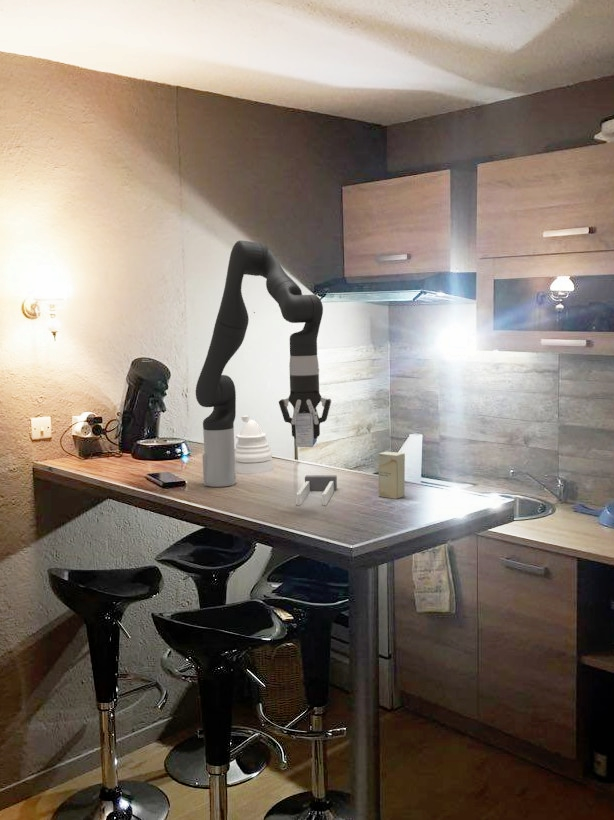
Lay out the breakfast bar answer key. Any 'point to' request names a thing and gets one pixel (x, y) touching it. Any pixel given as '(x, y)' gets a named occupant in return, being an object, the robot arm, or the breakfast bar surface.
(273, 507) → the breakfast bar surface
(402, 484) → the skincare box
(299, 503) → the channel
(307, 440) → the medicine box
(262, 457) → the honey pot
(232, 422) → the robot arm
